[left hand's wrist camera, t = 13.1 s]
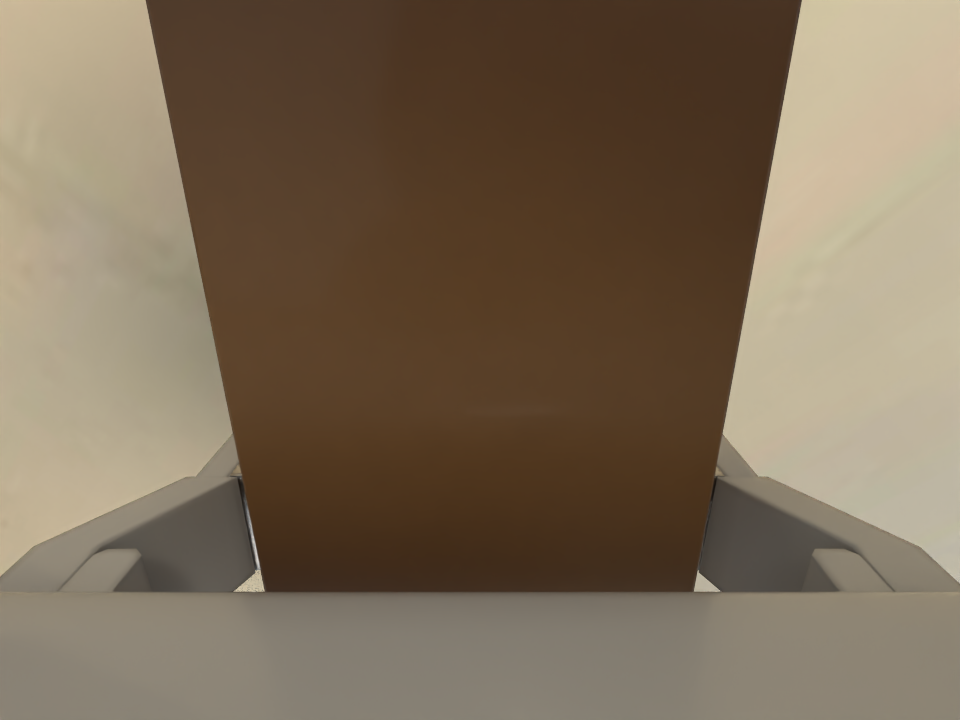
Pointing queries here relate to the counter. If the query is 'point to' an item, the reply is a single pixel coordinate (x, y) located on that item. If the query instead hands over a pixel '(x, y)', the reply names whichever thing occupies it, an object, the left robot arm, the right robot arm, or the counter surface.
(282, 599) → the left robot arm
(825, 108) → the counter surface
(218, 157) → the beam
